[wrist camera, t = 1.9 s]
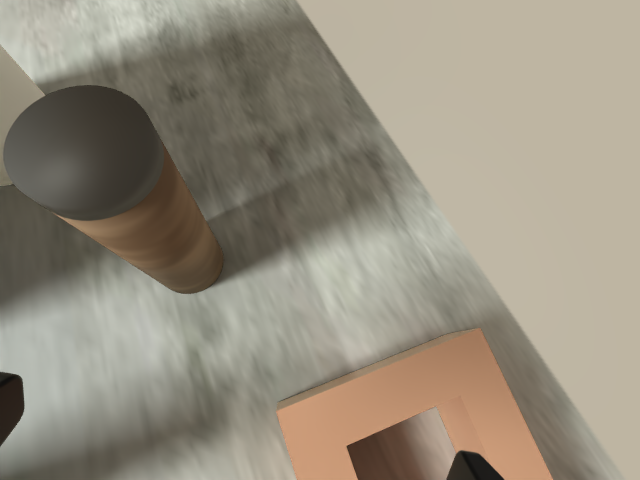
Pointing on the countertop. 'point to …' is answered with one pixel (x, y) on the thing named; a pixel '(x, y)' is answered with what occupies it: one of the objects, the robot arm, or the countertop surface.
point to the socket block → (413, 409)
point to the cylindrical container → (13, 100)
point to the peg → (113, 183)
